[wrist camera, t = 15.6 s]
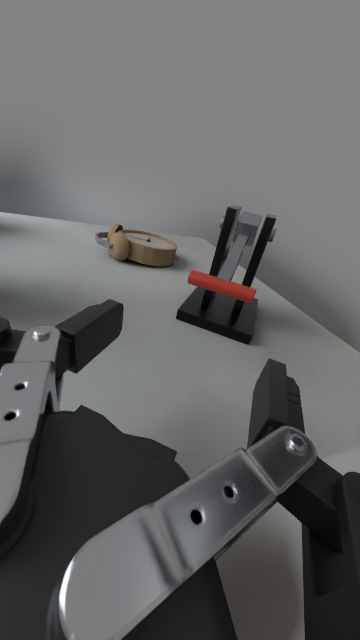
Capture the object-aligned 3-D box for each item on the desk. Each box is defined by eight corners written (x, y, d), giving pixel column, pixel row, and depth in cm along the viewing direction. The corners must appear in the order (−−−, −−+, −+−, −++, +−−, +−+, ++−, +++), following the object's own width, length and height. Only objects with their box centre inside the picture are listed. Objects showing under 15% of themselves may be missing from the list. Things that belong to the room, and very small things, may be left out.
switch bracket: (248, 345, 26) (300, 227, 20) (175, 318, 28) (200, 203, 22) (255, 306, 36) (292, 217, 29) (199, 288, 37) (222, 201, 31)
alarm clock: (186, 254, 42) (99, 228, 35) (176, 279, 44) (93, 258, 37) (170, 237, 50) (97, 213, 44) (162, 258, 53) (93, 239, 46)
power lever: (247, 311, 19) (257, 289, 17) (186, 291, 20) (189, 268, 18) (269, 239, 27) (277, 219, 26) (224, 227, 28) (229, 207, 27)
